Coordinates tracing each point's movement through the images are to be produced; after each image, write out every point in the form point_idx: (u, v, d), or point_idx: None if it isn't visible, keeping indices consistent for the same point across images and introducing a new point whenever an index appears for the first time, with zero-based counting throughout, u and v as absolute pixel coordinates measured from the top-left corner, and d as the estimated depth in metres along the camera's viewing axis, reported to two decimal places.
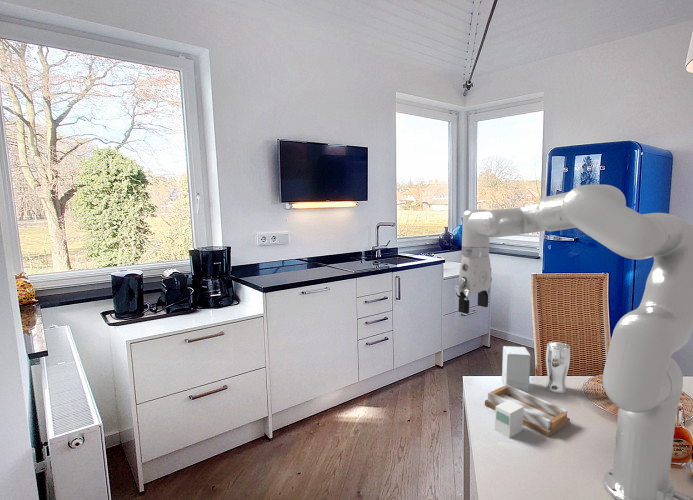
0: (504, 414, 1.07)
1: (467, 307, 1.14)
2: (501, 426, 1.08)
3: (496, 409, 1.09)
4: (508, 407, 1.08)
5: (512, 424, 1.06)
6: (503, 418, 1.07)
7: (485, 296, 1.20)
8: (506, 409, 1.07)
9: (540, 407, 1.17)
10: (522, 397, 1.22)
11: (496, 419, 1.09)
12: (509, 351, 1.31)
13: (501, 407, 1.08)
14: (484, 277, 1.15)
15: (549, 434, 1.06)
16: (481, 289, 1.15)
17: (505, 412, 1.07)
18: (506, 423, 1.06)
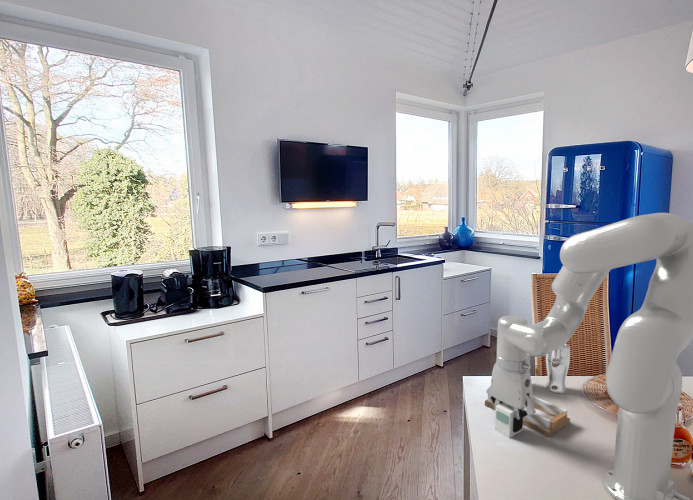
0: (504, 414, 1.07)
1: None
2: (501, 426, 1.08)
3: (496, 409, 1.09)
4: (508, 407, 1.08)
5: (512, 424, 1.06)
6: (503, 418, 1.07)
7: None
8: (505, 409, 1.07)
9: (540, 407, 1.17)
10: None
11: (496, 419, 1.09)
12: None
13: (501, 407, 1.08)
14: None
15: (549, 434, 1.06)
16: None
17: (505, 411, 1.07)
18: (506, 423, 1.06)
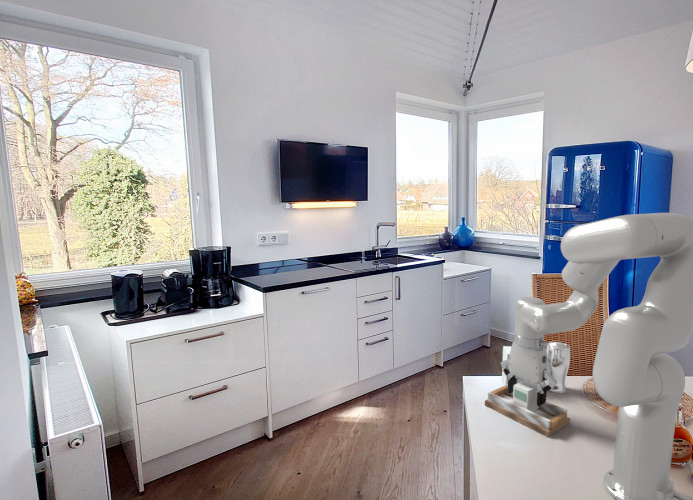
0: (522, 392, 1.14)
1: None
2: (519, 403, 1.15)
3: (514, 388, 1.16)
4: (526, 386, 1.16)
5: (530, 401, 1.14)
6: (521, 396, 1.14)
7: (516, 380, 1.20)
8: (523, 387, 1.14)
9: (540, 407, 1.17)
10: None
11: (514, 397, 1.16)
12: (509, 351, 1.31)
13: (519, 386, 1.16)
14: None
15: (549, 434, 1.06)
16: None
17: (522, 390, 1.14)
18: (524, 400, 1.14)
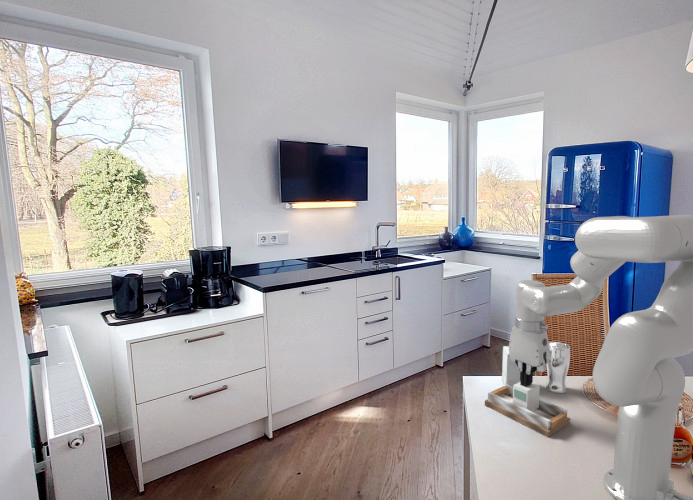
0: (522, 392, 1.14)
1: None
2: (519, 403, 1.15)
3: (514, 388, 1.16)
4: None
5: (530, 401, 1.14)
6: (521, 395, 1.14)
7: None
8: (523, 387, 1.15)
9: (540, 407, 1.17)
10: None
11: (514, 397, 1.16)
12: None
13: (518, 385, 1.16)
14: None
15: (549, 434, 1.06)
16: None
17: (522, 389, 1.14)
18: (524, 400, 1.14)
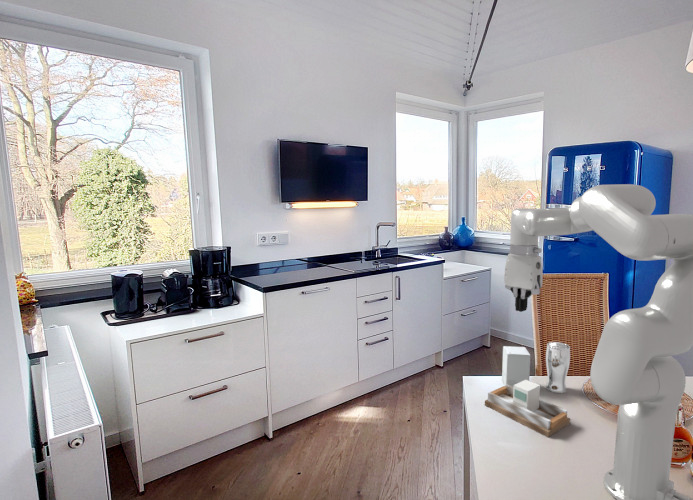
0: (522, 392, 1.14)
1: None
2: (519, 403, 1.15)
3: (514, 388, 1.16)
4: (526, 386, 1.16)
5: (530, 401, 1.14)
6: (521, 396, 1.14)
7: None
8: (523, 387, 1.14)
9: (540, 407, 1.17)
10: None
11: (514, 397, 1.16)
12: (509, 351, 1.31)
13: (519, 386, 1.16)
14: None
15: (549, 434, 1.06)
16: None
17: (522, 390, 1.14)
18: (524, 400, 1.14)
